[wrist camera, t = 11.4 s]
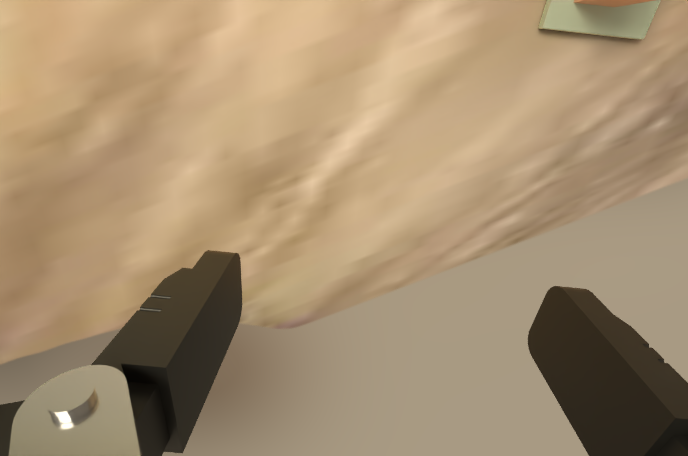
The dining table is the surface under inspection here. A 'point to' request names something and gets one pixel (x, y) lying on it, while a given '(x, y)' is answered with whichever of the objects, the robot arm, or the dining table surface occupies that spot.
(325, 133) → the dining table surface
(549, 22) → the green plate orange block
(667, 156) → the dining table surface
